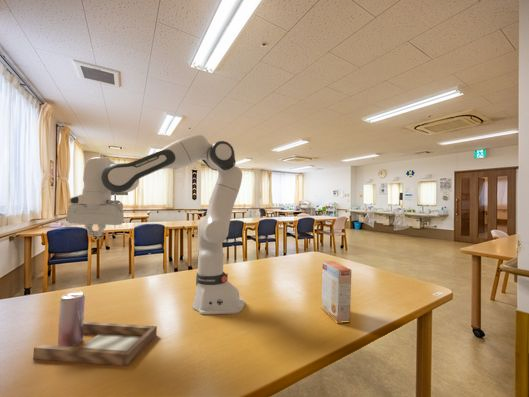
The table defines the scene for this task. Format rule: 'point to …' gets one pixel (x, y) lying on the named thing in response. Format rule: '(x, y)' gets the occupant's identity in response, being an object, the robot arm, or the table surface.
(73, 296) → the beverage can
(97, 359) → the tray
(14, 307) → the table surface
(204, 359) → the table surface
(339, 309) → the cracker box
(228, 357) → the table surface
